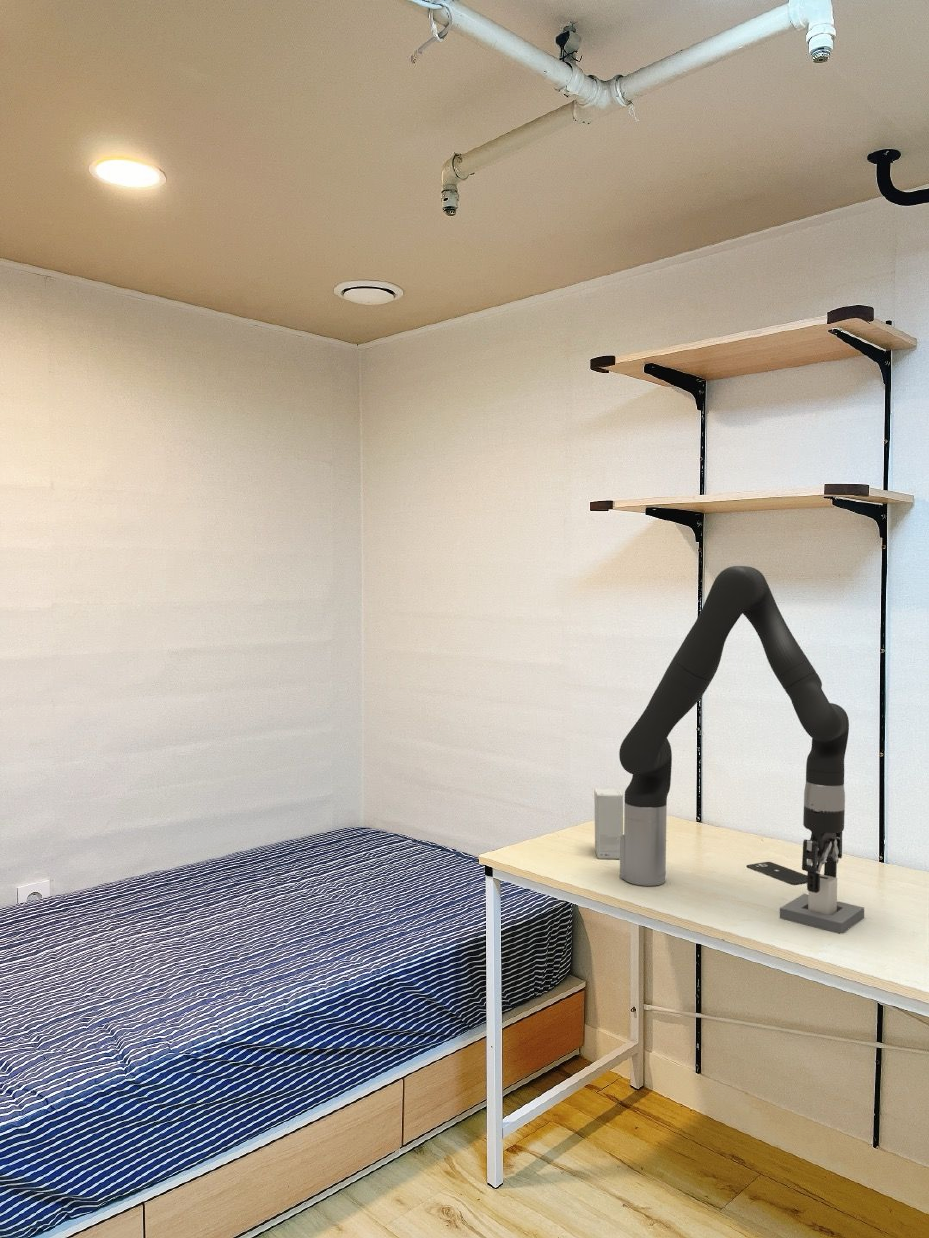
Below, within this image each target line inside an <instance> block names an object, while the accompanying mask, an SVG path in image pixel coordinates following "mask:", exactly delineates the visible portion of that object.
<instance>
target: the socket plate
mask: <svg viewBox="0 0 929 1238" xmlns="http://www.w3.org/2000/svg"><path fill="white" fill-rule="evenodd" d="M808 898H809V893H808V894H807V893H803V894H801V895H799V896H798V897H796V898H795V899H793V900H791V901H789V902H788V903H786V904H784V905H783V906H781V907H779V919H782V920H786V921H789V922H794V923H797V924H801V925H806V926H809V927H813V928H816V927H817V928H818V929H821V930H824V931H828V932H832V933H836V932H838V933H837V934H840V933H842V934H844V933H845V932H846V931H848V930H849V929H850V928H852V927H853V926H854V925H856V924H857V923H859V922H860V921H861V920H863V919H864V918H865V907H863V906H859V905H855V904H850V903H845V902H842V901H838V900H837V912H836V913H835V914H833V915H828V914H824V913H820V912H816V911H812V910H808ZM851 926H852V927H851ZM848 928H849V929H848Z"/></svg>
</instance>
